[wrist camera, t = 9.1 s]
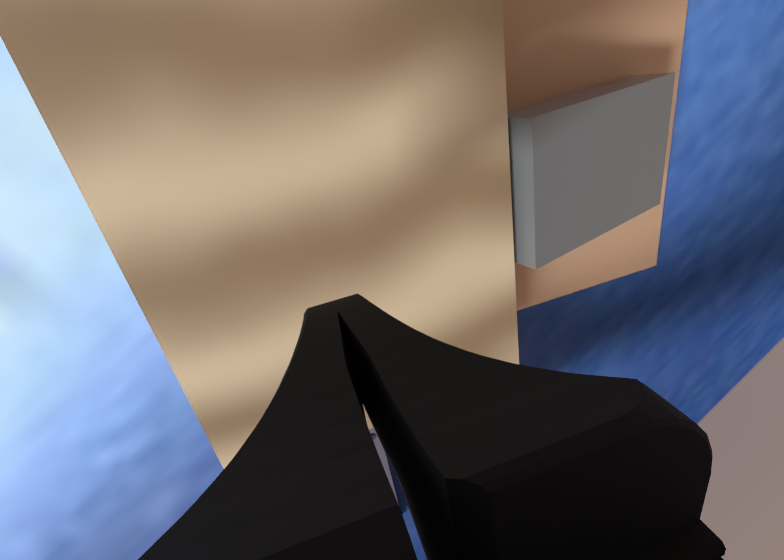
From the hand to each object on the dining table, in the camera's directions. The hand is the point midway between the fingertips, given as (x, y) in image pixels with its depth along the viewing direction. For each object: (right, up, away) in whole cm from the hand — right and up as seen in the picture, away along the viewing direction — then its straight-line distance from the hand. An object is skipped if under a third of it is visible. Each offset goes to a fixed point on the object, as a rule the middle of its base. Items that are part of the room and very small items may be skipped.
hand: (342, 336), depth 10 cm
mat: (+10, +8, +11) cm, 17 cm away
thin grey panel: (+9, +7, +10) cm, 15 cm away
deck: (-2, +4, +9) cm, 10 cm away
